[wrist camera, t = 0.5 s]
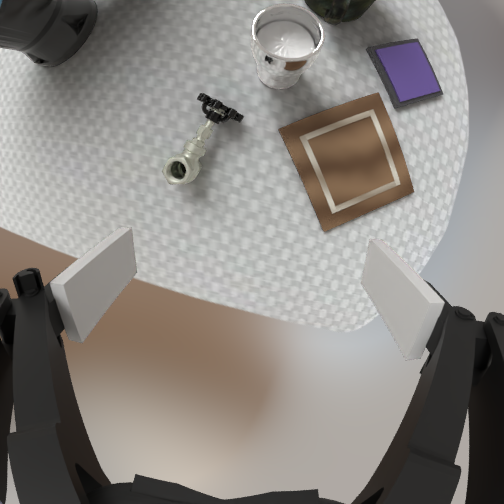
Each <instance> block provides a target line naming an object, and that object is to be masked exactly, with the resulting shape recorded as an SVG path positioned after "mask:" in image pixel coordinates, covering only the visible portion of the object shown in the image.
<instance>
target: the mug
mask: <svg viewBox="0 0 504 504" xmlns="http://www.w3.org/2000/svg"><path fill="white" fill-rule="evenodd" d="M374 1H375V0H305V2H306V3H307V5H308V6H309V7H310V8H311V9H312V10H313V11H315V12H316V13H318V14H319V15H321V16H323V17H324V20H325V22H328V23H330V24H333V25H337V24H339V23H340V22H341V21H342V22H345V21H352V20H355V19H358V18H359V17H361V16H362V15H363V14H364V12H365V11H366V10H367V9H368V8H369V7H370V6H371V5H372V3H373V2H374Z"/></svg>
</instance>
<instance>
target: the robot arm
mask: <svg viewBox="0 0 504 504" xmlns="http://www.w3.org/2000/svg"><path fill="white" fill-rule="evenodd" d="M96 17H97V7H96V4H95V2H94V1H93V0H0V48H5V49H12V50H17V51H22V52H23V53H24V54H25V55H26V56H27V57H29V58H30V59H31V60H32V61H33V62H34V63H36V64H38V65H42V66H47V67H51V66H56V65H58V64H61V63H62V62H64V61H66V60H67V59H68V58H70V57H71V56H72V55H73V54H74V53H75V52H76V51H77V50H78V49H79V48H80V47H81V46H82V44H83V43H84V42H85V41H86V39H87V38H88V36H89V34H90V32H91V31H92V28H93V26H94V24H95V21H96ZM136 273H137V267H136V260H135V252H134V244H133V235H132V228H119V229H117V230H116V231H115V232H113V233H112V234H110V235H109V236H108V237H106V238H105V239H104V240H102V241H101V242H100V243H98V244H97V245H96V246H94V247H93V248H92V249H91V250H89V251H88V252H87V253H85V254H84V255H83V256H82V257H80V258H79V259H78V260H76V261H75V262H74V263H73V264H72V265H70V266H69V267H67V268H66V269H65V270H63V271H62V273H60V274H59V275H57V277H55V278H54V279H53V280H52V281H51V282H49V283H48V284H47V285H46V286H45V287H44V286H43V282H42V279H41V275H40V271H39V269H37V268H28V269H25V270H22V271H20V272H18V273H17V274H16V275H15V276H14V277H13V282H14V285H15V288H16V291H17V294H18V299H11V298H10V295H9V293H8V290H7V289H0V336H1V338H2V341H1V339H0V504H5V501H6V492H7V461H8V453H9V459H10V465H11V469H12V474H13V479H14V483H15V487H16V491H17V495H18V499H19V502H20V504H344V503H341V502H337V501H334V500H329V499H325V498H319V495H318V489H315V490H303V491H281V492H269V493H264V494H259V495H254V496H248V497H242V498H235V499H228V500H223V499H219V498H215V497H212V496H209V495H206V494H203V493H201V492H198V491H195V490H192V489H189V488H187V487H185V486H182V485H180V484H177V483H172V482H167V481H162V480H157V479H153V478H149V477H144V476H140V475H137V474H135V478H134V481H133V483H131V482H129V483H116V484H111V482H110V481H109V479H108V478H107V477H106V475H105V474H104V472H103V470H102V469H101V467H100V464H99V462H98V460H97V458H96V455H95V453H94V450H93V447H92V445H91V442H90V440H89V437H88V434H87V432H86V429H85V426H84V423H83V420H82V417H81V414H80V410H79V407H78V404H77V400H76V397H75V393H74V390H73V386H72V382H71V378H70V373H69V369H68V365H67V360H66V355H65V350H64V345H63V340H62V337H61V335H60V333H61V332H62V331H63V330H64V329H65V331H66V333H67V336H68V339H69V340H72V341H76V342H80V343H83V342H84V340H85V339H86V337H87V336H88V335H89V333H90V332H91V331H92V329H93V328H94V327H95V325H96V324H97V322H98V321H99V320H100V319H101V317H102V316H103V315H104V313H105V312H106V311H107V309H108V308H109V307H110V306H111V304H112V303H113V301H114V300H115V299H116V298H117V297H118V295H119V294H120V293H121V292H122V290H123V289H124V288H125V287H126V285H127V284H128V283H129V282H130V280H131V279H132V278H133V277H134V276H135V274H136ZM361 284H362V286H363V288H364V289H365V291H366V293H367V294H368V296H369V297H370V299H371V301H372V302H373V304H374V306H375V307H376V309H377V311H378V312H379V314H380V316H381V317H382V319H383V321H384V322H385V324H386V326H387V328H388V329H389V331H390V333H391V335H392V336H393V338H394V340H395V342H396V344H397V345H398V347H399V349H400V351H401V353H402V354H403V356H404V358H405V360H414V359H420V358H421V356H422V354H423V352H424V350H425V348H427V349H428V351H429V352H430V354H429V356H428V358H427V360H426V362H425V364H424V365H423V367H422V369H421V371H420V373H421V377H420V379H419V383H418V385H417V387H416V390H415V393H414V395H413V397H412V400H411V402H410V405H409V407H408V409H407V411H406V414H405V416H404V418H403V420H402V422H401V424H400V427H399V429H398V431H397V433H396V435H395V437H394V439H393V441H392V442H391V445H390V446H389V448H388V450H387V452H386V454H385V455H384V457H383V459H382V461H381V462H380V464H379V466H378V468H377V469H376V471H375V473H374V474H373V476H372V477H371V479H370V481H369V482H368V484H367V485H366V487H365V488H364V489H363V491H362V492H361V493H360V494H359V496H357V497H356V499H355V500H354V501H353V502H352V503H351V504H451V501H452V499H453V496H454V493H455V491H456V488H457V485H458V482H459V479H460V475H461V467H460V466H458V465H455V464H454V462H455V458H456V454H457V451H458V447H459V444H460V440H461V436H462V432H463V428H464V423H465V419H466V414H467V409H468V414H469V445H470V446H469V472H468V485H467V493H466V501H465V504H504V315H502V314H501V313H496V312H490V313H489V314H488V316H487V318H486V320H485V322H482V321H476V319H475V316H474V315H473V314H472V313H471V312H470V311H469V310H467V309H465V308H463V307H459V306H453V307H452V306H451V305H450V304H449V303H448V302H447V301H446V300H445V298H444V297H443V296H442V295H440V293H439V292H438V291H437V290H435V288H434V287H433V286H432V285H431V284H430V283H429V282H427V281H425V280H424V279H422V278H421V277H420V276H419V275H418V274H417V273H416V272H415V271H414V270H413V269H412V268H411V267H410V266H409V265H408V264H407V263H406V262H405V261H404V260H403V259H402V258H401V257H400V256H399V255H398V254H397V253H396V252H395V251H394V250H393V249H392V248H391V247H389V246H388V245H387V244H386V243H385V242H384V241H383V240H382V239H370V240H369V245H368V250H367V256H366V260H365V265H364V270H363V275H362V279H361ZM13 404H14V410H15V421H16V432H13V433H10V424H11V416H12V409H13Z"/></svg>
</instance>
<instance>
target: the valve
mask: <svg viewBox="0 0 504 504" xmlns="http://www.w3.org/2000/svg"><path fill="white" fill-rule="evenodd" d="M197 100H199V101H201V102H203V104H202V111H203V112H204V113H205V114H206V116H205V117H206V118H207V119H208V120H207V122H206V123H205V125H201V126H200V127H199V129H198V131H197V132H196V133H197V134H198V135H197V137H196V138H193V139H192V141H191V140H187V141H186V142H185V144H184V148H185V149H184V151H183V153H180V154H177V155H175V156H174V157H171V158H169V159H168V161H167V162H166V164H165V166H164V168H163V170H162V172H163V174H164V176H165V178H166V180H167V181H168V183H169V184H187V183H190V182H192V181H193V180H194V179H195V178H196V177H197V175H198V173H199V171H200V170H201V168H202V165H201V163H200V161H199V160H198V159H199V158H200V156H201V157H203V156H204V154H205V152H206V151H207V150H206V149H205V148H204V145H205V143H204V141H205V139H209V137H210V135H211V134H212V132H213V130H212V129H211V128H212V126H213V125H214V123H217V124H219V122H222V123H224V122H227V121H228V120H229V119H230V118H232V119H233V120H235V121H238V122H241V121H242V119H243V118H244V116H243V115H241V114H239V113H237V111H236V110H234V109H232V108H228V107H227V106H225V105H223V103H222V102H220V101H218V100H216V99H215V100H214V99H212V98H210V96H208V95H206V94H204V93H200V95H199V96H198V98H197ZM207 105H208V106H210V107H212V108H210V110H209V111H208V110H207V109H206V107H207ZM225 113H226V116H225V117H224V118H223V116H224V115H225ZM182 163H183V164H184V165H185V167H186V174H184V173H183V172H182V170H181V164H182Z"/></svg>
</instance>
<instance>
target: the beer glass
mask: <svg viewBox="0 0 504 504" xmlns="http://www.w3.org/2000/svg"><path fill="white" fill-rule="evenodd" d="M324 39H325V32H324V28H323V25H322V23H321V22H320V20H319V19H318V18H317V17H316V16H315V15H314V14H313V13H312V12H310V11H309V10H307V9H305V8H303V7H300V6H297V5H293V4H277V5H273V6H270V7H267V8H265V9H264V10H262V11H261V12H260V13H259V14H258V15H257V16H256V17H255V19H254V21H253V24H252V32H251V50H252V54H253V57H254V59H255V61H256V63H257V64H258V65H257V74H258V77H259V78H260V80H261V81H262V82H263V83H264V84H265V85H267V86H268V87H271V88H274V89H286V88H289V87H291V86H293V85H294V84H295V83H296V82H297V81H298V80H299V78H300V75H301V74H302V73H303V72H305V71H306V70H307V69H309V68H310V67H311V65H312V64H313V63H314V62H315V60H316V58H317V57H318V55H319V52H320V50H321V47H322V45H323V43H324Z"/></svg>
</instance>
